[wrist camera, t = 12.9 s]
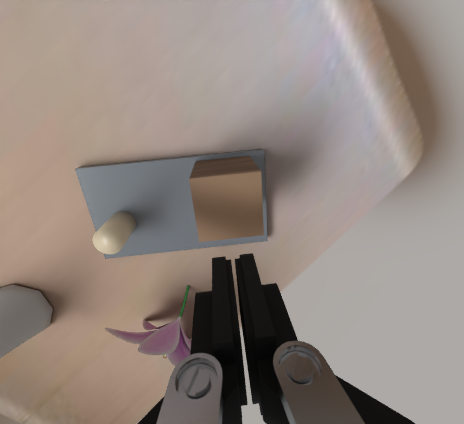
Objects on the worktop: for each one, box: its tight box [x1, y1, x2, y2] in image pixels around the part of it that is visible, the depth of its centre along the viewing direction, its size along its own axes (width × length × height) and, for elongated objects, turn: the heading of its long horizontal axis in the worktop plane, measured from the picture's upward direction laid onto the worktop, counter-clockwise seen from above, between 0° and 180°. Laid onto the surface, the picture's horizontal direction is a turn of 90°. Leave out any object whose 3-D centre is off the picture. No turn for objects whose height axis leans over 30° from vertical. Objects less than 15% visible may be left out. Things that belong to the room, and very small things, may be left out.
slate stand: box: [75, 149, 267, 259], centre depth 24 cm, size 10×18×5 cm, turn 95°
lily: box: [105, 286, 191, 366], centre depth 28 cm, size 12×12×10 cm
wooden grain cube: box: [189, 156, 264, 242], centre depth 22 cm, size 5×5×7 cm
